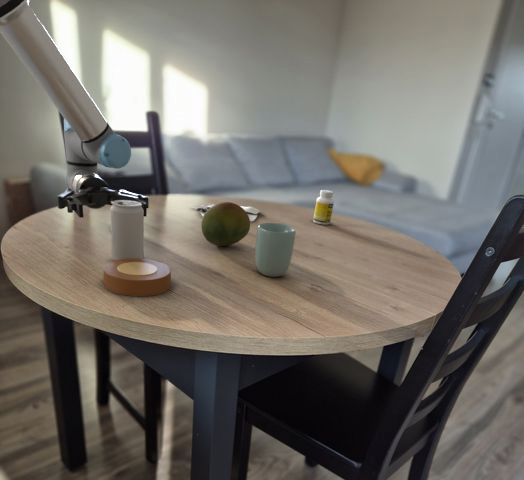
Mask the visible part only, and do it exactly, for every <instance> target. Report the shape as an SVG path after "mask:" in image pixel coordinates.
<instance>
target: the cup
mask: <svg viewBox="0 0 524 480" xmlns="http://www.w3.org/2000/svg"><path fill="white" fill-rule="evenodd" d="M295 240H296V229H295V228H294V227H293V226H290V225H288V224H285V223H277V222H263V223H259V224H258V225H257V229H256V239H255V251H254V258H255V259H254V261H255V266H256V269H257V271H258V272H259V274H262V275H263V276H265V277H270V278H278V277H282V276H284V275H286V273H287V272H288V270H289V269H290V266H291V263H292V260H293V254H294V247H295Z"/></svg>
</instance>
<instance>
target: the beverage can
mask: <svg viewBox="0 0 524 480" xmlns="http://www.w3.org/2000/svg"><path fill="white" fill-rule="evenodd" d="M111 202H112V201H111ZM112 204H113V205H111V207H110V208H109V209H110V234H111V235H110V236H111V258H112V259H113V261H115V260H121V259H145V228H144V227H145V224H144V223H145V217H144V210H143V208H142V207H141V206H142V204H141V203H140V202H137V201H131V200H116V201H113V202H112Z"/></svg>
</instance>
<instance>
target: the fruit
mask: <svg viewBox="0 0 524 480" xmlns="http://www.w3.org/2000/svg"><path fill="white" fill-rule="evenodd" d="M213 205H214V206H213V207H211V208H210V209H208V210H207V211H206V213H205V214H204V216H202V219H201V222H200V228H201V229H200V230H201V232H202V235H203V237H204V238H205V240H206V241H207V242H209V243H210V244H212V245H214V246H218V247H228V246H232V245H235V244H237V243H239V242H240V241H242V240H243V239H244V238H246V236H247V235H248V233H249V232H250V229H251V221H250V219H249V216H248V214H247V213H246V212H245V210H244V209H243V208H242V207H240V206H241V205H238V204H237V203H235V202H231V201H222V202H219V203H216V205H215V204H213Z"/></svg>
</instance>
